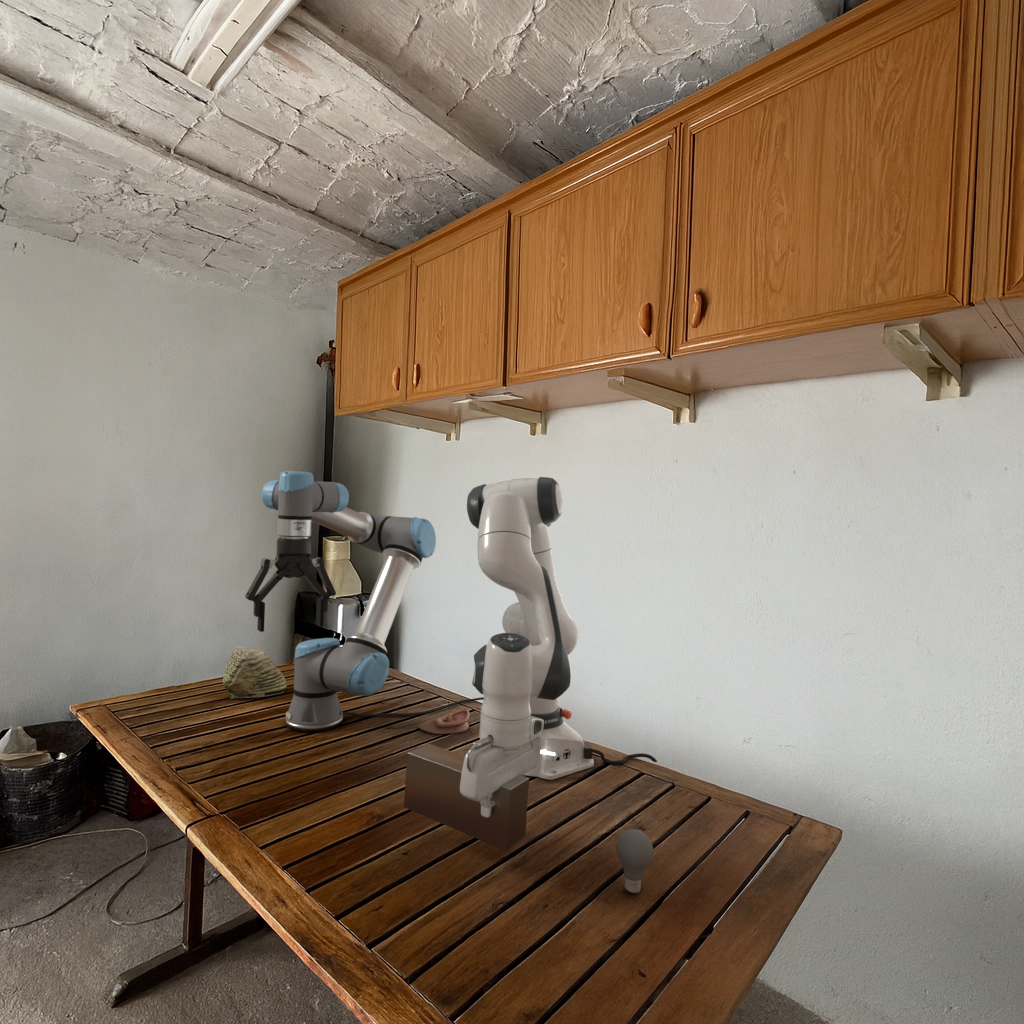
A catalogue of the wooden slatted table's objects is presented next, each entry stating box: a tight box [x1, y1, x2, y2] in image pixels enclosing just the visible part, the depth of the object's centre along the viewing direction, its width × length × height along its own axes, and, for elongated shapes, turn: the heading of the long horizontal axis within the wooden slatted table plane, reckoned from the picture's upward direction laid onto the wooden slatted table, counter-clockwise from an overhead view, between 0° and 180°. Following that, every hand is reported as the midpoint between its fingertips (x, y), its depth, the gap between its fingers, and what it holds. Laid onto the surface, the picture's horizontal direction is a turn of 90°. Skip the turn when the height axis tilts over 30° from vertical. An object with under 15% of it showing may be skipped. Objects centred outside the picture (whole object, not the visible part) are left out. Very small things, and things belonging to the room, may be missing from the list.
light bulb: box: [615, 828, 654, 894], centre depth 106 cm, size 6×6×10 cm
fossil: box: [222, 646, 288, 699], centre depth 198 cm, size 9×18×15 cm, turn 132°
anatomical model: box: [418, 709, 471, 735], centre depth 177 cm, size 13×4×12 cm
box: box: [403, 743, 530, 852], centre depth 115 cm, size 23×6×10 cm, turn 57°
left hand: (290, 628), depth 148 cm, fingers open, 13 cm apart
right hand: (499, 807), depth 111 cm, fingers closed on box, 6 cm apart
